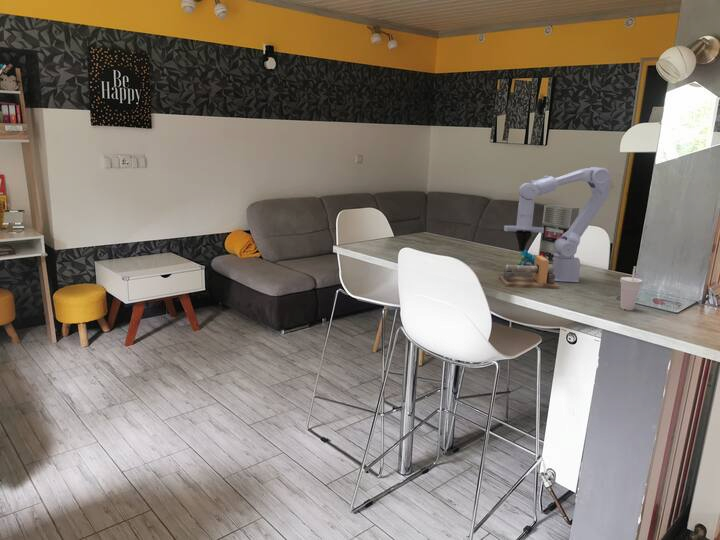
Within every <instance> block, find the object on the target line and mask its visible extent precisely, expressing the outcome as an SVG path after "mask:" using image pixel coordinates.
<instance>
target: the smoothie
mask: <svg viewBox="0 0 720 540" xmlns="http://www.w3.org/2000/svg"><path fill="white" fill-rule="evenodd" d="M636 267H637V266H635V265H634V266H633V269H632V277H631V276H630V277H629V276H628V277H627V276H622V277H620V280H619V281H620V307H621V308H622V309H621V308H620V309H621V310H624V309H626V310H625V311H634V308H635V305H636V301H637V299H638V295H639V292H640V289H641V285H642V284H643V280H642V279H640V278H636V277H635V275H636V269H637V268H636Z"/></svg>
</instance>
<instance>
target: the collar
mask: <svg viewBox="0 0 720 540" xmlns="http://www.w3.org/2000/svg"><path fill="white" fill-rule="evenodd" d="M534 258H535V263H534V266H539V272H538V273H535V272H532V277H533V279H535V280H536V281H537V282H538V283H539V284H546V282H547V273H548V267H549V264H550V263H549V260H547V259H546V258H544V257H543V256H539V255H535V256H534Z"/></svg>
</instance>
